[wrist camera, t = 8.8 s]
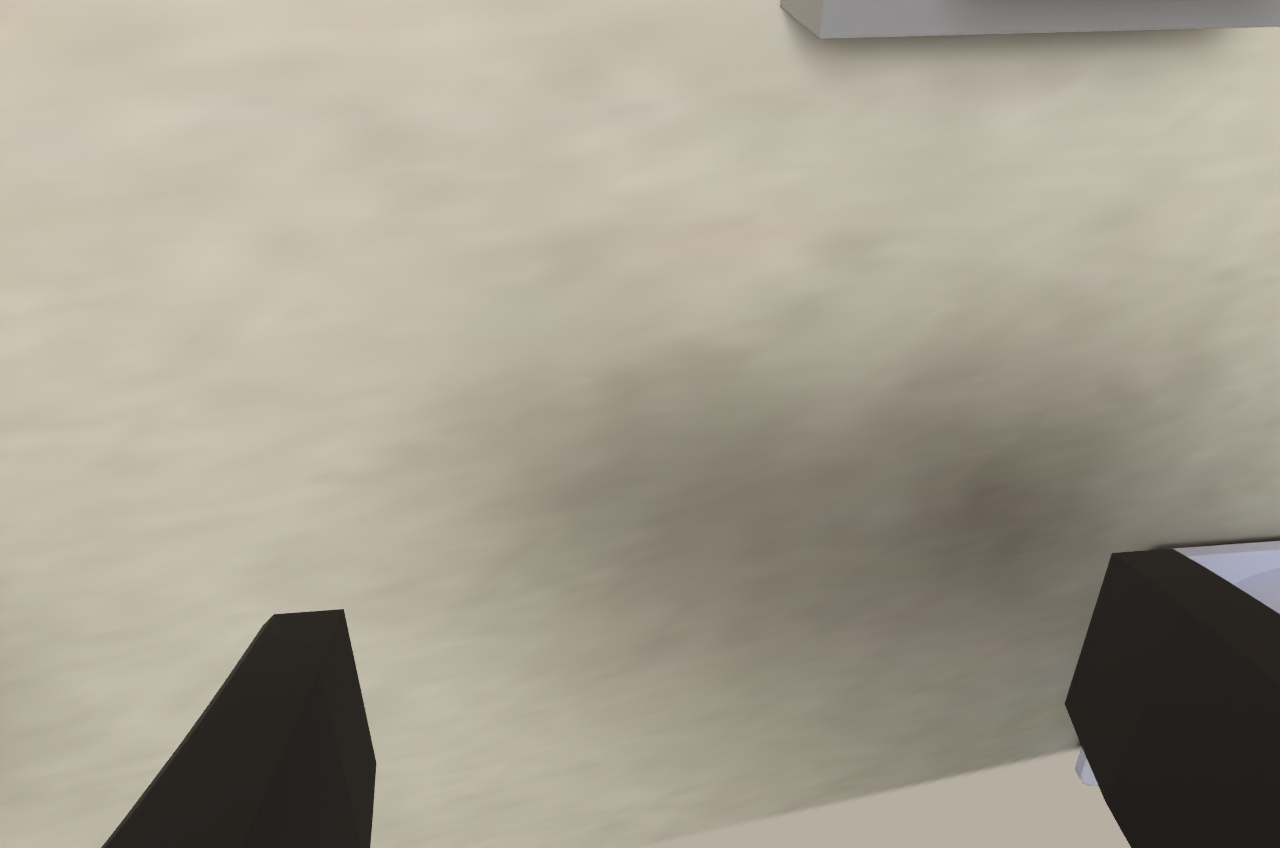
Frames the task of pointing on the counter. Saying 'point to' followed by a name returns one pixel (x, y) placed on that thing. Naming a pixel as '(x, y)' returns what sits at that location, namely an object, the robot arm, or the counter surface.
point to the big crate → (1022, 16)
